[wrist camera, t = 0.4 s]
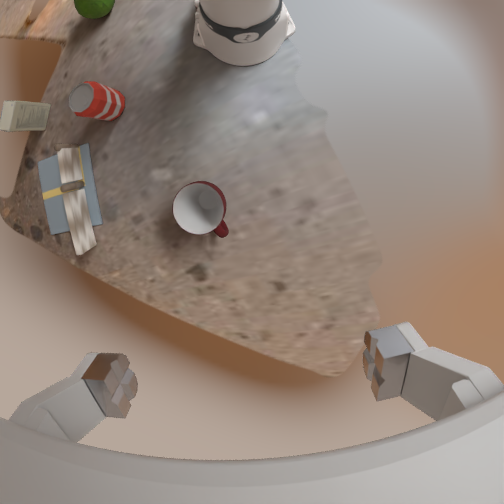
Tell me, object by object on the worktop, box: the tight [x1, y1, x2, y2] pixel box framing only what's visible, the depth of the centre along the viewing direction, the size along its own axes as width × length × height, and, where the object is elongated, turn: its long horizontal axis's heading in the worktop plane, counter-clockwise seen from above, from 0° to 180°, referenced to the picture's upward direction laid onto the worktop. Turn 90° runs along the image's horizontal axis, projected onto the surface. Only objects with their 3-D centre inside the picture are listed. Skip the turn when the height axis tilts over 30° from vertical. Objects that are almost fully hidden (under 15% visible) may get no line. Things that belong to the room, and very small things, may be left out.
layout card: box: [38, 143, 103, 235], centre depth 52 cm, size 17×15×1 cm
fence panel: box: [62, 189, 97, 255], centre depth 51 cm, size 12×1×6 cm, turn 8°
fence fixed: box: [54, 144, 85, 192], centre depth 47 cm, size 9×1×7 cm, turn 8°
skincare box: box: [0, 101, 51, 132], centre depth 42 cm, size 6×4×12 cm
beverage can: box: [69, 81, 125, 121], centre depth 42 cm, size 6×6×12 cm
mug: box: [173, 181, 229, 238], centre depth 49 cm, size 10×8×10 cm
